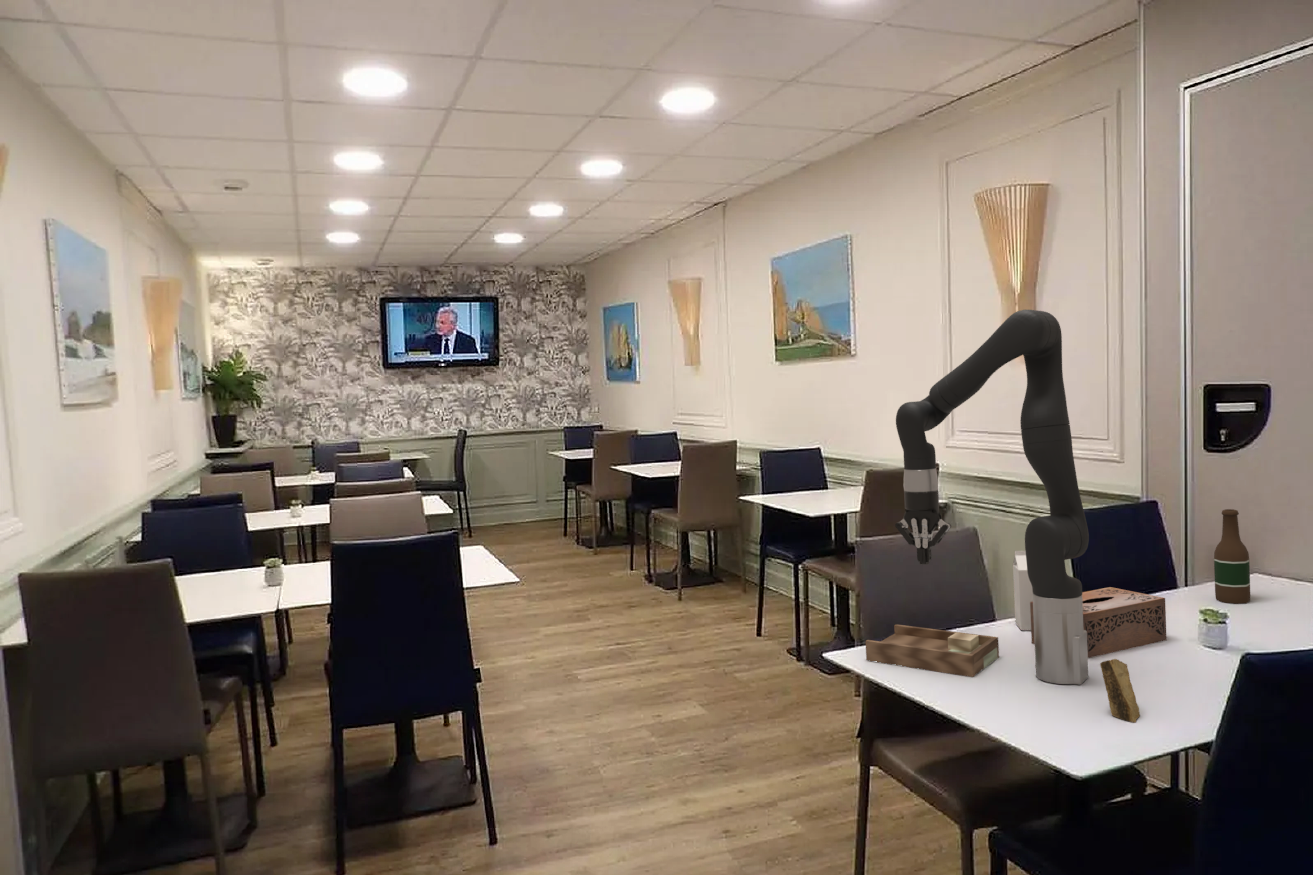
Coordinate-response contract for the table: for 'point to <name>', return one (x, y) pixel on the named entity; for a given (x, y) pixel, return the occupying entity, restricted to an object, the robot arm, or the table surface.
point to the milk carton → (1022, 591)
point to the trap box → (932, 651)
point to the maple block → (963, 642)
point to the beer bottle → (1231, 563)
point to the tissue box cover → (1119, 620)
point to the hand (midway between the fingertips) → (924, 563)
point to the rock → (1120, 690)
